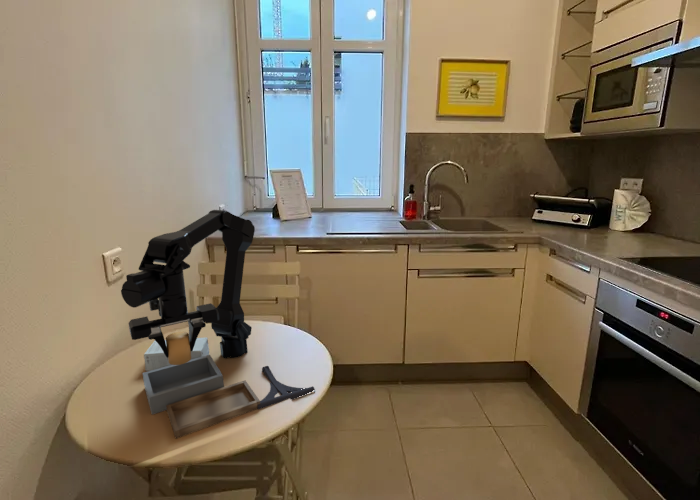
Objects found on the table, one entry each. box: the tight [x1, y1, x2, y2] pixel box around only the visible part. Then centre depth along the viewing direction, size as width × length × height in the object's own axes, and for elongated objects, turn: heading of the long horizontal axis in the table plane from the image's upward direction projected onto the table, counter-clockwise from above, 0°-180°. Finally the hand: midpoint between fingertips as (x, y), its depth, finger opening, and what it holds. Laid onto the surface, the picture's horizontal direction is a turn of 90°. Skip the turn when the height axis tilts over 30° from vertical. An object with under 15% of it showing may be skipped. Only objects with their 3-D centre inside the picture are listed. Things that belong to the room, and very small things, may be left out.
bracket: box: [257, 365, 316, 410], centre depth 100 cm, size 14×15×3 cm
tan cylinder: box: [165, 331, 191, 365], centre depth 95 cm, size 5×5×6 cm
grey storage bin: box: [142, 354, 225, 415], centre depth 98 cm, size 16×12×5 cm
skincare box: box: [143, 336, 210, 372], centre depth 110 cm, size 8×6×15 cm
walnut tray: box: [166, 380, 261, 439], centre depth 90 cm, size 18×10×2 cm, turn 123°
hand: (179, 353), depth 95 cm, fingers closed on tan cylinder, 5 cm apart
